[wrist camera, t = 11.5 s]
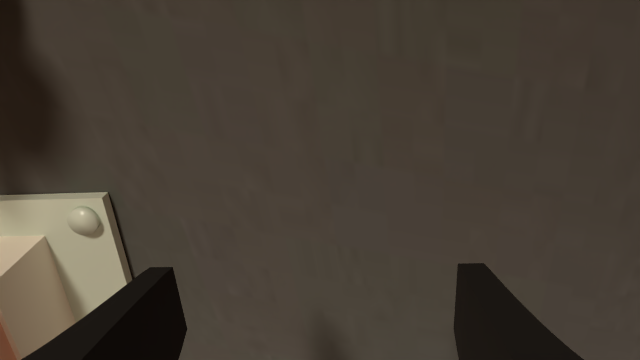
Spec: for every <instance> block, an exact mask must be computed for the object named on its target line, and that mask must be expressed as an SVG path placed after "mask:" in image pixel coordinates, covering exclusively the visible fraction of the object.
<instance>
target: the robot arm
mask: <svg viewBox="0 0 640 360" xmlns="http://www.w3.org/2000/svg"><path fill="white" fill-rule="evenodd" d="M186 331H187V326H186V322H185V317H184V313H183V309H182V305H181V301H180V296H179V292H178V288H177V284H176V279H175V275H174V271H173V267H150V268H149V269H147V270H146V271H144V272H143V273H141V274H140V275H138V276H137V277H136V278H134V279H133V280H132V281H130V282H129V283H128V284H127V285H125V286H124V287H123V288H121V289H120V290H119V291H118V292H116V293H115V294H114V295H112V296H111V297H110V298H108V299H107V300H106V301H104V302H103V303H102V304H101V305H99V306H98V307H97V308H95V309H94V310H93V311H91V312H90V313H89V314H87V315H86V316H85V317H83V318H82V319H80V320H79V321H78V322H76V323H75V324H73V325H72V326H71V327H69V328H68V329H66V330H65V331H63V332H62V333H61V334H59V335H58V336H56V337H55V338H54V339H52V340H51V341H49V342H48V343H46V344H45V345H43V346H42V347H40V348H39V349H37V350H35V351H34V352H32V353H31V354H29V355H28V356H26V357H24V358H23V359H21V360H178V359H179V356H180V353H181V349H182V346H183V342H184V338H185V335H186ZM454 333H455V339H456V345H457V351H458V357H459V360H584V359H582V358H581V357H580V356H578V355H577V354H576V353H575V352H573V351H572V350H571V349H570V348H569V347H567V346H566V345H565V344H564V343H563V342H562V341H561V340H559V339H558V338H557V337H556V336H555V335H554V334H553V333H551V332H550V331H549V330H548V329H547V328H546V327H545V326H544V325H543V324H542V323H541V322H540V321H539V320H538V319H537V318H536V317H535V316H534V315H533V314H532V313H531V312H529V311H528V310H527V309H526V308H525V307H524V306H523V305H522V304H521V303H520V301H519V300H518V299H517V298H516V297H515V296H514V295H513V294H512V293H511V292H510V291H509V290H508V289H507V288H506V287H505V286H504V285H503V283H502V282H501V281H500V280H499V279H498V278H497V277H496V276H495V275H494V274H493V273H492V271H491V270H490V269H489V268H488V267H487V266H486V265H485V264H484V263H474V264H458V271H457V286H456V302H455V317H454Z"/></svg>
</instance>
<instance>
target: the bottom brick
mask: <svg viewBox="0 0 640 360" xmlns="http://www.w3.org/2000/svg"><path fill="white" fill-rule="evenodd" d="M0 323H1V325H2V327H3V330H4V332H5V334H6V336H7V339H8V341H9V343H10V345H11V348H12V350H13V352H14V354H15V357H16V359H17V360H21V359H23V358H24V357H26V356H28V355H29V354H31V353H32V352H34V351H35V350H37V349H39V348H40V347H42V346H43V345H45V344H46V343H48V342H49V341H51V340H52V339H54V338H55V337H56V336H58V335H59V334H61V333H62V332H63V331H65V330H66V329H68V328H69V327H71V326H72V325H73V324H75V323H76V322H75V319H74V316H73V313H72V310H71V308H70V305H69V302H68V299H67V296H66V294H65V291H64V288H63V285H62V282H61V280H60V277H59V274H58V271H57V269H56V266H55V263H54V260H53V257H52V255H51V252H50V249H49V246H48V243H47V241H46V238H45V236H0Z"/></svg>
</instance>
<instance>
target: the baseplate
mask: <svg viewBox="0 0 640 360" xmlns="http://www.w3.org/2000/svg"><path fill="white" fill-rule="evenodd" d="M0 236H45V238H46V241H47V243H48V246H49V249H50V252H51V255H52V257H53V260H54V263H55V266H56V269H57V271H58V274H59V277H60V280H61V282H62V285H63V288H64V291H65V294H66V296H67V299H68V302H69V305H70V308H71V310H72V313H73V316H74V319H75V322H78V321H79V320H80V319H82V318H83V317H85V316H86V315H87V314H89V313H90V312H91V311H93V310H94V309H95V308H97V307H98V306H99V305H101V304H102V303H103V302H104V301H106V300H107V299H108V298H110V297H111V296H112V295H114V294H115V293H116V292H118V291H119V290H120V289H121V288H123V287H124V286H125V285H127V284H128V283H129V282H130V281H132V277H131V273H130V269H129V266H128V262H127V259H126V255H125V252H124V248H123V245H122V241H121V237H120V234H119V230H118V227H117V223H116V220H115V216H114V213H113V209H112V205H111V202H110V198H109V195H108V192H98V193H62V194H26V195H0Z"/></svg>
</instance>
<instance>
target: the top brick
mask: <svg viewBox="0 0 640 360" xmlns="http://www.w3.org/2000/svg"><path fill="white" fill-rule="evenodd" d="M0 360H17V359H16V357H15V354H14V352H13V350H12V348H11V345H10V343H9V341H8V339H7V336H6V334H5V332H4V330H3V327H2V325H1V323H0Z"/></svg>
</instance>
